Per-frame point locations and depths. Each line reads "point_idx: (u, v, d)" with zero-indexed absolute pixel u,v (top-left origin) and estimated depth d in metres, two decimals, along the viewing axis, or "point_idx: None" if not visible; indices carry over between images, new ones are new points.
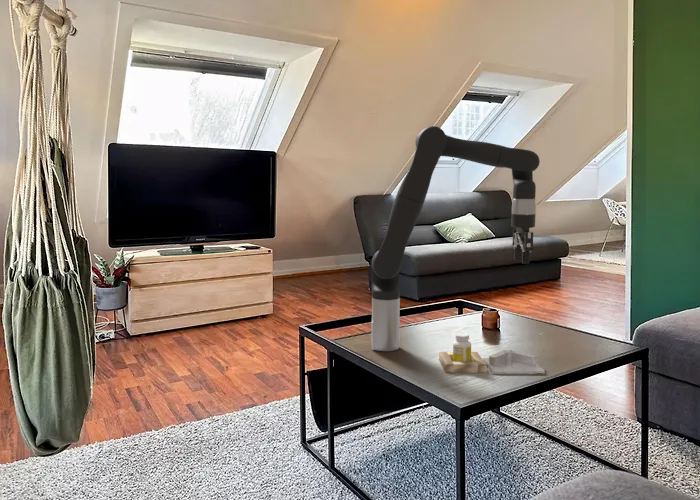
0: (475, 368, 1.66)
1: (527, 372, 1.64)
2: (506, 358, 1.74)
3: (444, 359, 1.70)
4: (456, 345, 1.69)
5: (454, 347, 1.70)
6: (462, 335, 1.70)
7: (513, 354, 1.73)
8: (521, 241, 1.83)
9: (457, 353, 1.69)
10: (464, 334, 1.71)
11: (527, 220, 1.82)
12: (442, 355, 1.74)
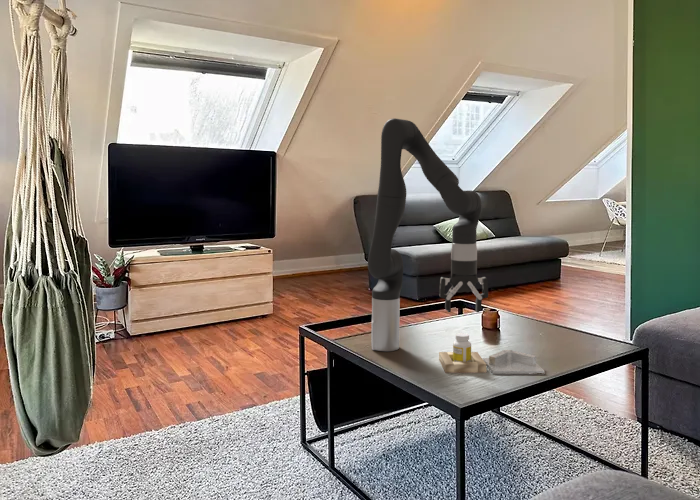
0: (475, 368, 1.66)
1: (527, 372, 1.64)
2: (506, 358, 1.74)
3: (444, 359, 1.70)
4: (456, 345, 1.69)
5: (454, 347, 1.70)
6: (462, 335, 1.70)
7: (513, 354, 1.73)
8: None
9: (457, 353, 1.69)
10: (464, 334, 1.71)
11: None
12: (442, 355, 1.74)
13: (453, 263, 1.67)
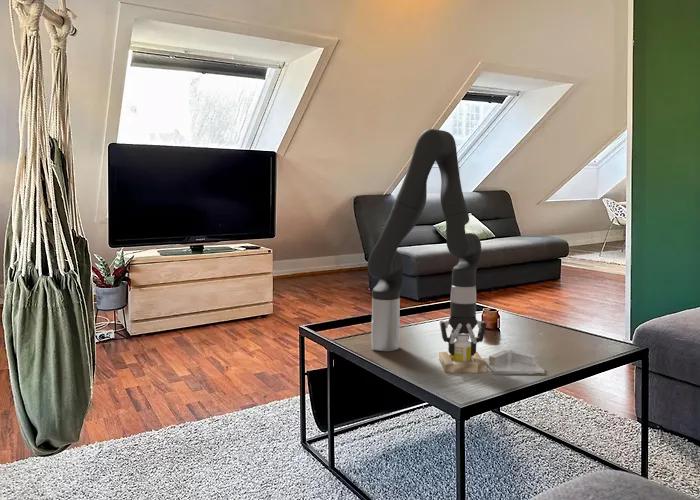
0: (475, 368, 1.66)
1: (527, 372, 1.64)
2: (506, 358, 1.74)
3: (444, 359, 1.70)
4: (456, 345, 1.69)
5: (454, 347, 1.70)
6: (462, 335, 1.70)
7: (513, 354, 1.73)
8: None
9: (457, 353, 1.69)
10: (464, 334, 1.71)
11: None
12: (442, 355, 1.74)
13: (452, 305, 1.68)
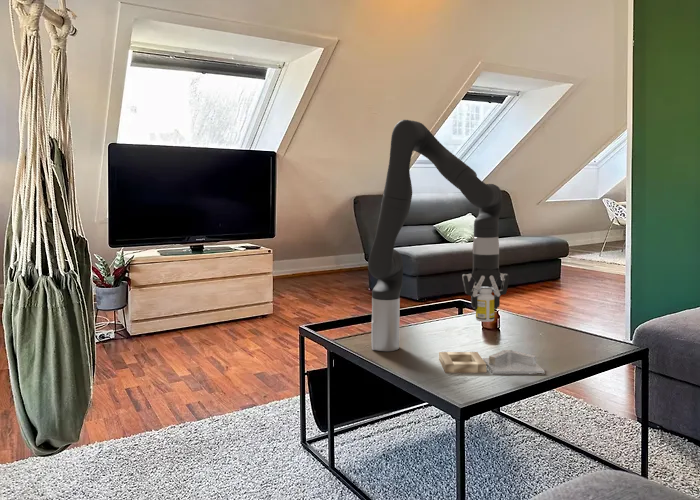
0: (475, 368, 1.66)
1: (527, 372, 1.64)
2: (506, 358, 1.74)
3: (444, 359, 1.70)
4: (479, 298, 1.66)
5: (477, 300, 1.67)
6: (485, 288, 1.67)
7: (513, 354, 1.73)
8: (496, 284, 1.66)
9: (480, 306, 1.66)
10: (487, 287, 1.68)
11: None
12: (442, 355, 1.74)
13: (475, 257, 1.65)
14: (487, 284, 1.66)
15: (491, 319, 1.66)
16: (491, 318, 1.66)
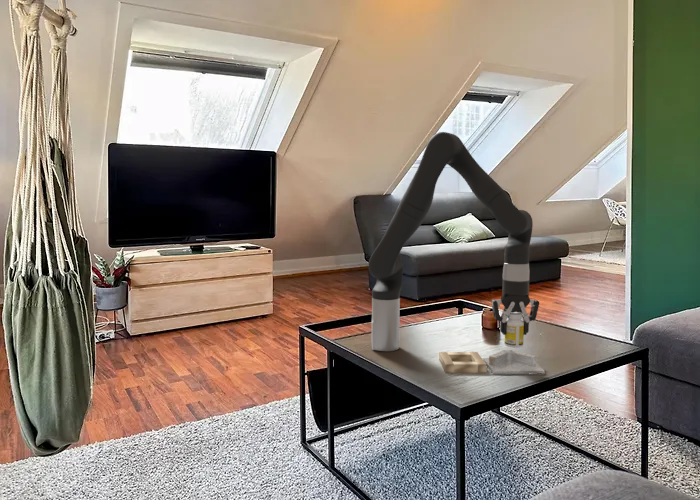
0: (475, 368, 1.66)
1: (527, 372, 1.64)
2: (506, 358, 1.74)
3: (444, 359, 1.70)
4: (509, 324, 1.66)
5: (506, 326, 1.67)
6: (515, 314, 1.67)
7: (513, 354, 1.73)
8: (526, 311, 1.66)
9: (509, 332, 1.67)
10: (516, 313, 1.68)
11: None
12: (442, 355, 1.74)
13: (505, 283, 1.65)
14: (517, 310, 1.67)
15: (520, 345, 1.67)
16: (521, 344, 1.67)
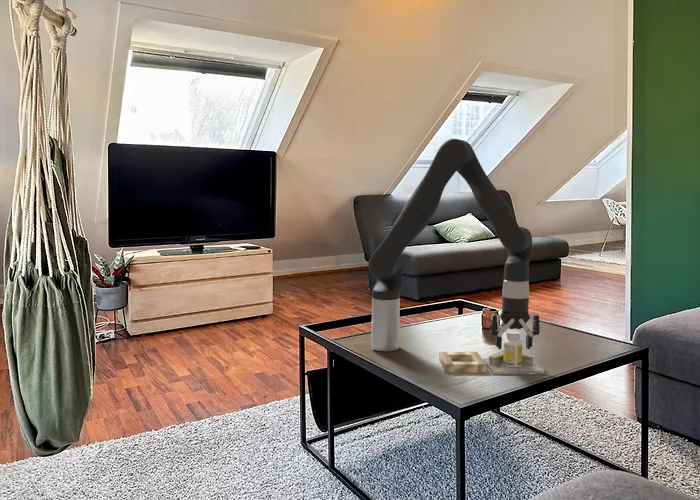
0: (475, 368, 1.66)
1: (527, 372, 1.64)
2: None
3: (444, 359, 1.70)
4: (507, 343, 1.67)
5: (505, 345, 1.68)
6: (513, 333, 1.68)
7: None
8: (527, 326, 1.67)
9: (508, 352, 1.67)
10: (515, 332, 1.69)
11: None
12: (442, 355, 1.74)
13: (505, 300, 1.66)
14: (516, 327, 1.67)
15: (519, 364, 1.67)
16: (519, 364, 1.67)
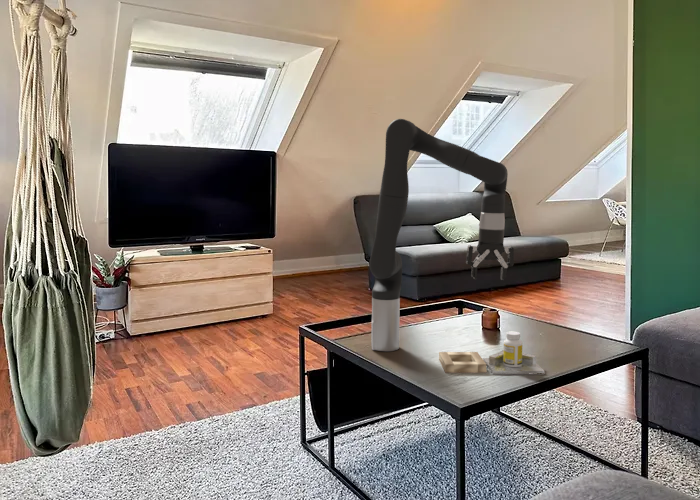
0: (475, 368, 1.66)
1: (527, 372, 1.64)
2: None
3: (444, 359, 1.70)
4: (507, 343, 1.67)
5: (505, 345, 1.68)
6: (513, 333, 1.68)
7: None
8: None
9: (508, 352, 1.67)
10: (515, 332, 1.69)
11: None
12: (442, 355, 1.74)
13: (481, 231, 1.73)
14: (491, 258, 1.74)
15: (519, 364, 1.67)
16: (519, 364, 1.67)
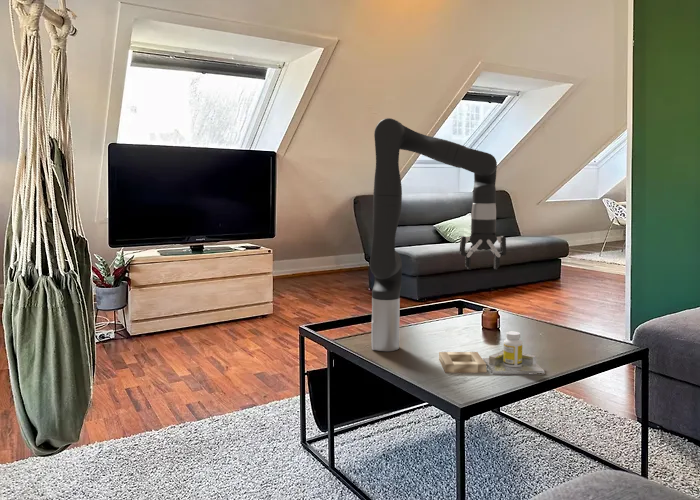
0: (475, 368, 1.66)
1: (527, 372, 1.64)
2: None
3: (444, 359, 1.70)
4: (507, 343, 1.67)
5: (505, 345, 1.68)
6: (513, 333, 1.68)
7: None
8: (494, 247, 1.77)
9: (508, 352, 1.67)
10: (515, 332, 1.69)
11: None
12: (442, 355, 1.74)
13: (473, 222, 1.76)
14: (484, 248, 1.77)
15: (519, 365, 1.67)
16: (519, 364, 1.67)
